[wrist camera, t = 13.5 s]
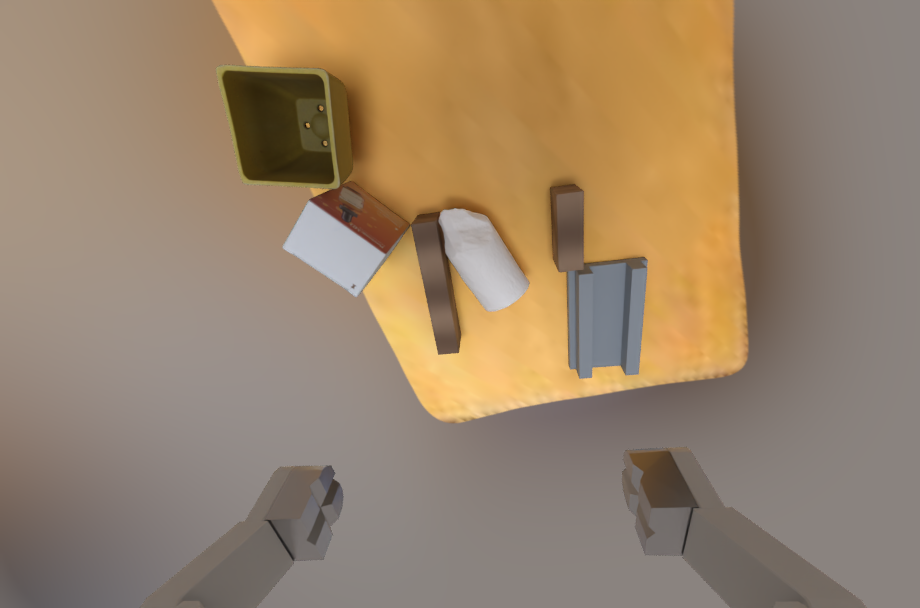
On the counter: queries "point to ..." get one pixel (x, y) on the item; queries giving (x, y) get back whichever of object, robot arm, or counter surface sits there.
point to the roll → (482, 258)
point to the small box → (346, 236)
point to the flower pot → (287, 125)
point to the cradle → (606, 315)
